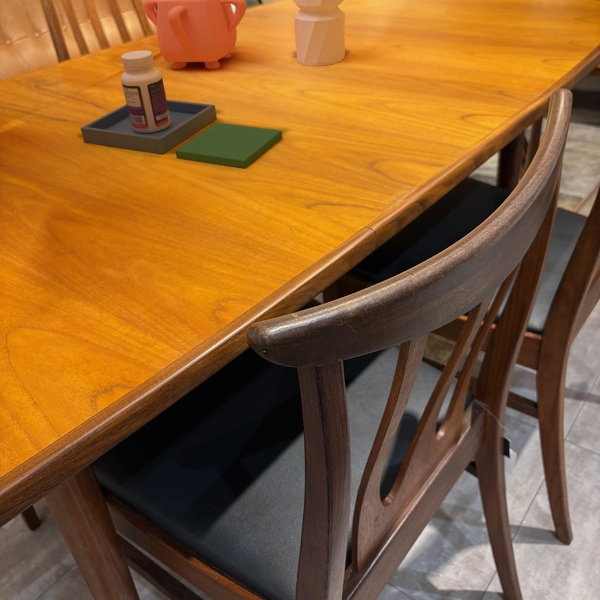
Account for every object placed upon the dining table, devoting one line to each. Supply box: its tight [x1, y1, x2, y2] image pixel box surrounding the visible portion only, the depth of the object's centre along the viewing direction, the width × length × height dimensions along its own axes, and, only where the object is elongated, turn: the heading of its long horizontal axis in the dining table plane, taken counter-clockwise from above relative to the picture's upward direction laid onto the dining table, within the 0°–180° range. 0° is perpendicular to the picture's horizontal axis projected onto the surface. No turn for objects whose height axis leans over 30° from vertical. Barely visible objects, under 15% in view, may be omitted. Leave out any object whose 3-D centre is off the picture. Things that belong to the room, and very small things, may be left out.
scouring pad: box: [175, 122, 283, 169], centre depth 79 cm, size 10×10×1 cm
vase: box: [292, 0, 346, 67], centre depth 106 cm, size 9×9×12 cm
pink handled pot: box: [142, 0, 248, 70], centre depth 109 cm, size 17×16×13 cm
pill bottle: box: [120, 49, 171, 133], centre depth 82 cm, size 5×5×10 cm
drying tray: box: [80, 99, 218, 155], centre depth 85 cm, size 13×13×2 cm
